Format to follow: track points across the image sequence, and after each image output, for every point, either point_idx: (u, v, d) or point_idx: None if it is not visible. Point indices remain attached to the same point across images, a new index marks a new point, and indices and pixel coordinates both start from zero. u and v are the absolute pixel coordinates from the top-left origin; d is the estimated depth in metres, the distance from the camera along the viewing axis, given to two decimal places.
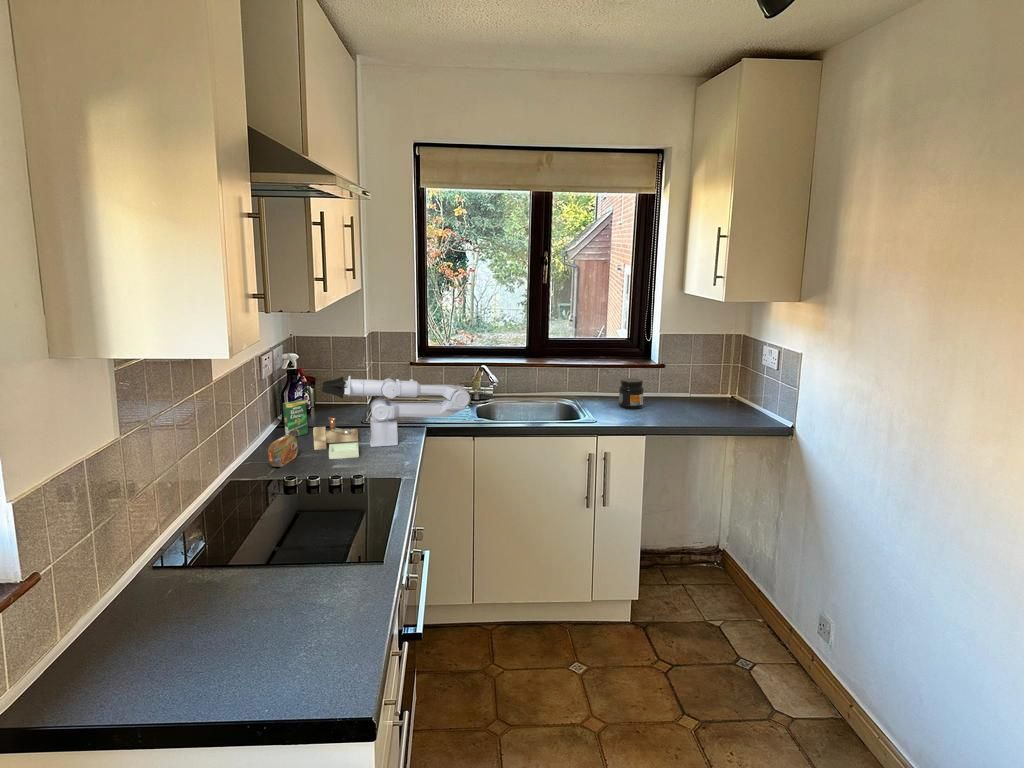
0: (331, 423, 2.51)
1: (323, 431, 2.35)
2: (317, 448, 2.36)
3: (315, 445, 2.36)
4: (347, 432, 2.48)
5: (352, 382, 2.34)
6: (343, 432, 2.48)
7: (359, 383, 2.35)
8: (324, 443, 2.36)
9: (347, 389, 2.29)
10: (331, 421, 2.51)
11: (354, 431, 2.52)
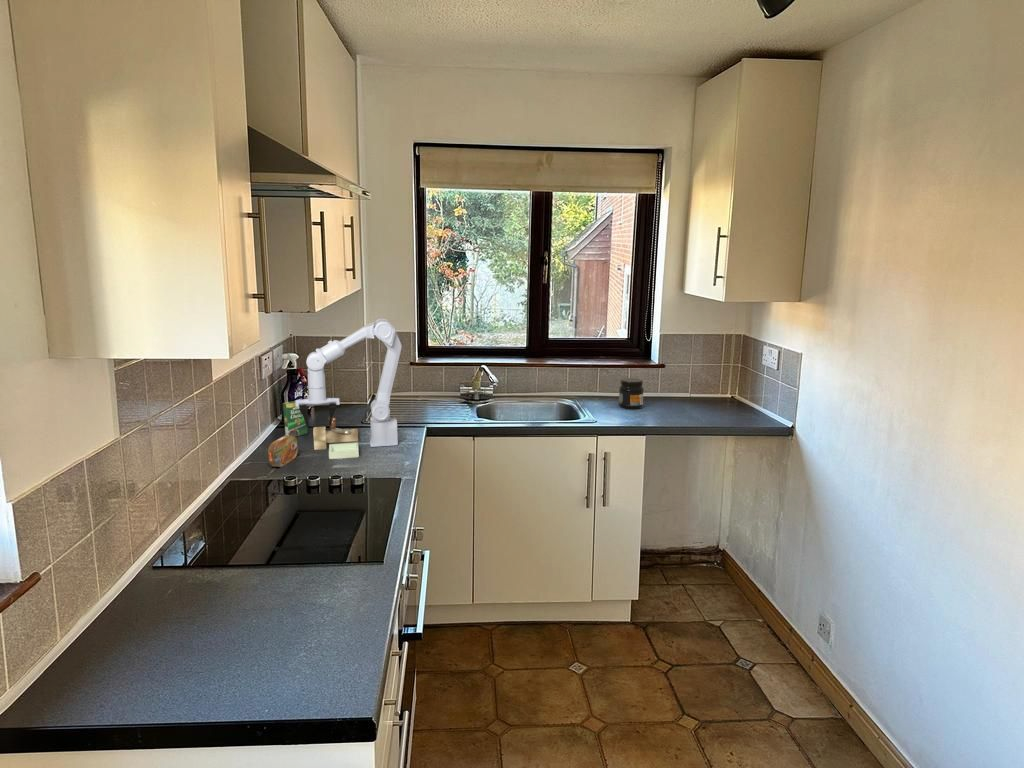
0: None
1: (323, 431, 2.35)
2: (317, 448, 2.36)
3: (315, 445, 2.36)
4: (347, 432, 2.48)
5: None
6: (343, 432, 2.48)
7: None
8: (324, 443, 2.36)
9: None
10: None
11: (354, 431, 2.52)
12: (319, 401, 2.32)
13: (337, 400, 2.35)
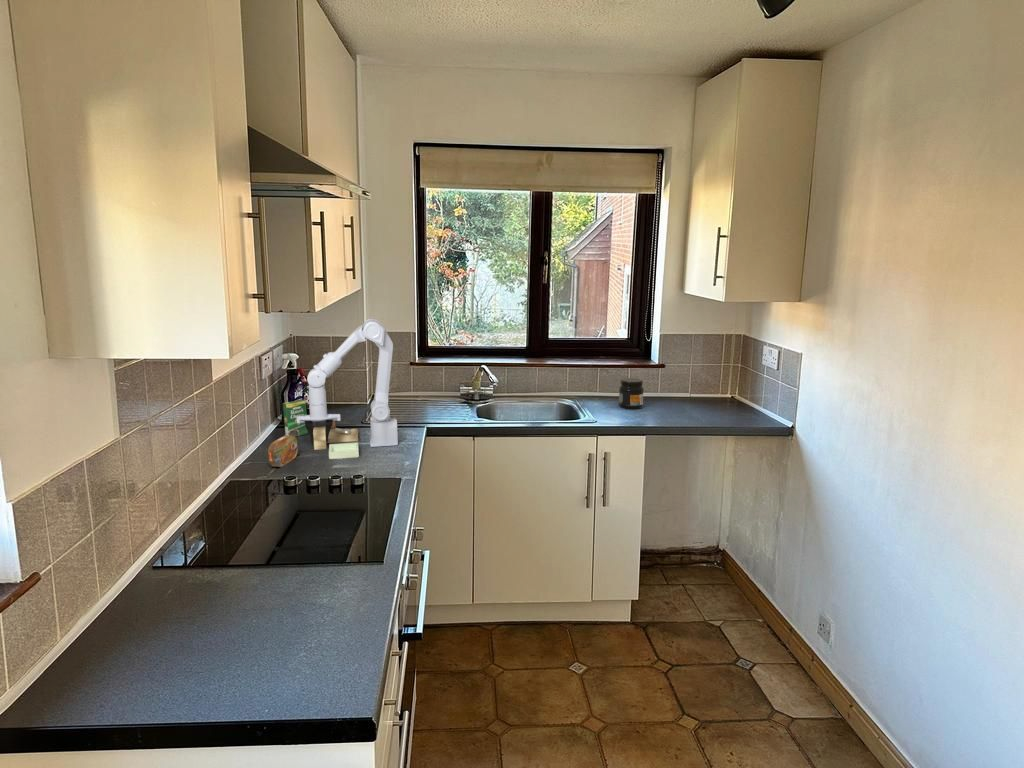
0: None
1: (323, 431, 2.35)
2: (317, 448, 2.36)
3: (315, 445, 2.36)
4: (347, 432, 2.48)
5: None
6: (343, 432, 2.48)
7: None
8: (324, 443, 2.36)
9: None
10: None
11: (354, 431, 2.52)
12: (320, 417, 2.33)
13: (338, 416, 2.36)
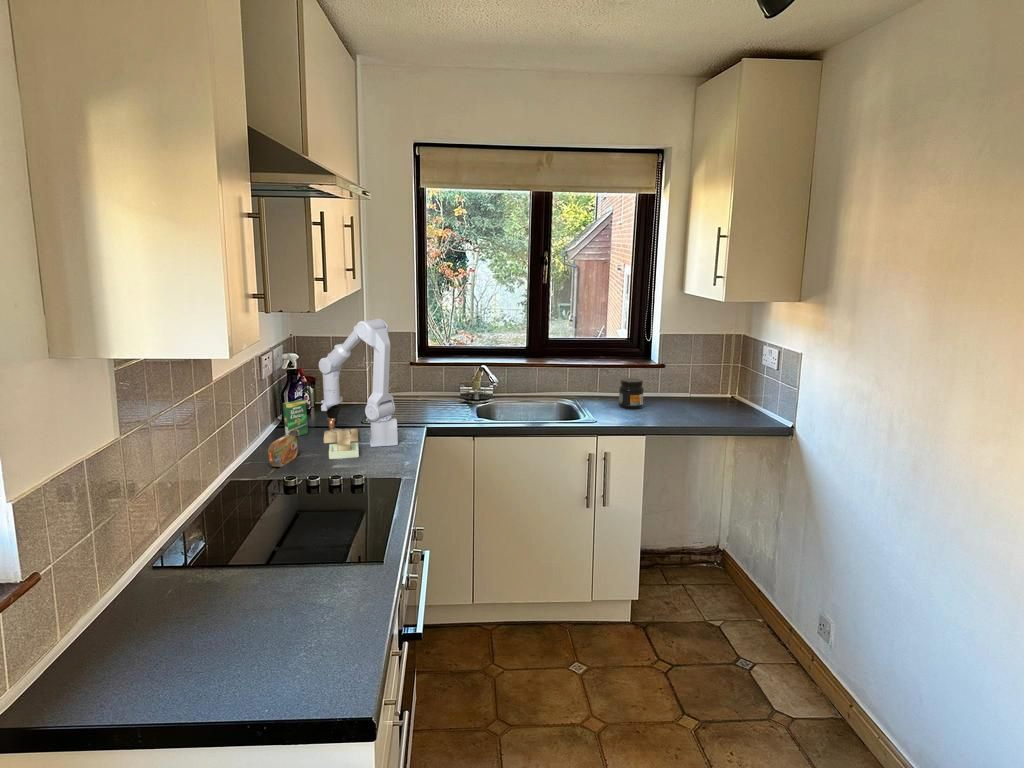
0: (330, 423, 2.51)
1: (348, 435, 2.29)
2: None
3: (339, 450, 2.29)
4: None
5: (324, 400, 2.50)
6: None
7: (324, 394, 2.49)
8: (348, 447, 2.29)
9: (322, 408, 2.45)
10: (330, 421, 2.51)
11: (354, 431, 2.52)
12: (340, 400, 2.52)
13: (341, 397, 2.58)
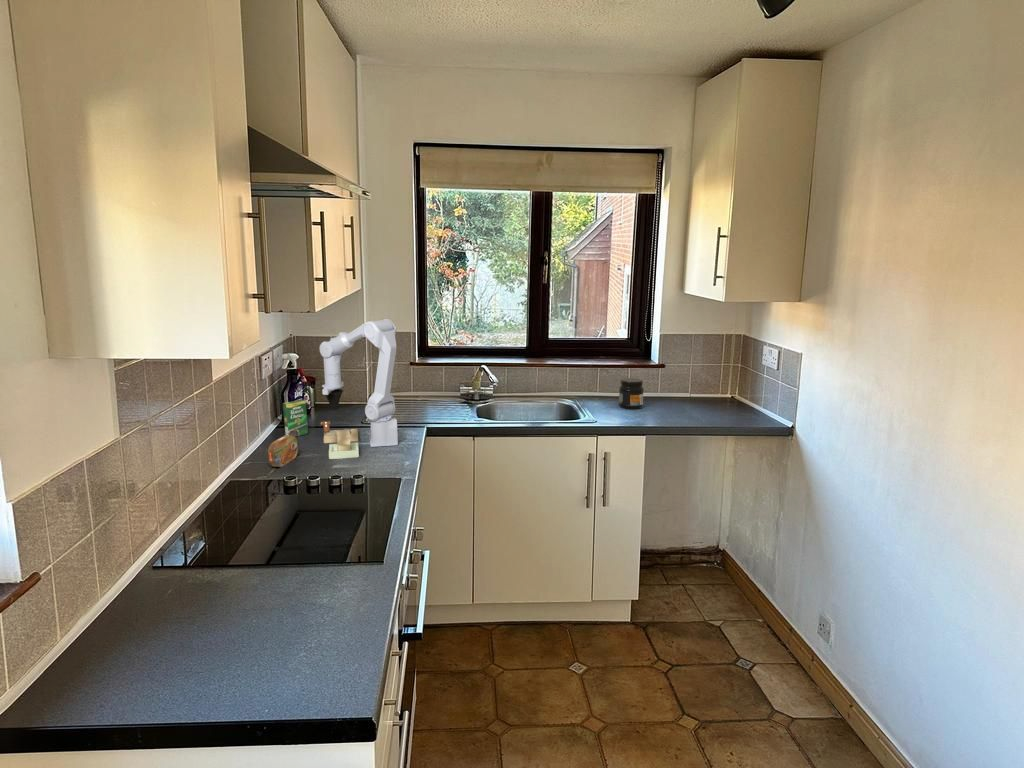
0: (327, 427, 2.46)
1: (348, 435, 2.29)
2: None
3: (339, 450, 2.29)
4: (350, 431, 2.49)
5: (325, 384, 2.49)
6: None
7: (325, 378, 2.48)
8: (348, 447, 2.29)
9: (323, 392, 2.44)
10: (327, 425, 2.46)
11: (354, 431, 2.52)
12: (341, 385, 2.51)
13: (342, 382, 2.57)
